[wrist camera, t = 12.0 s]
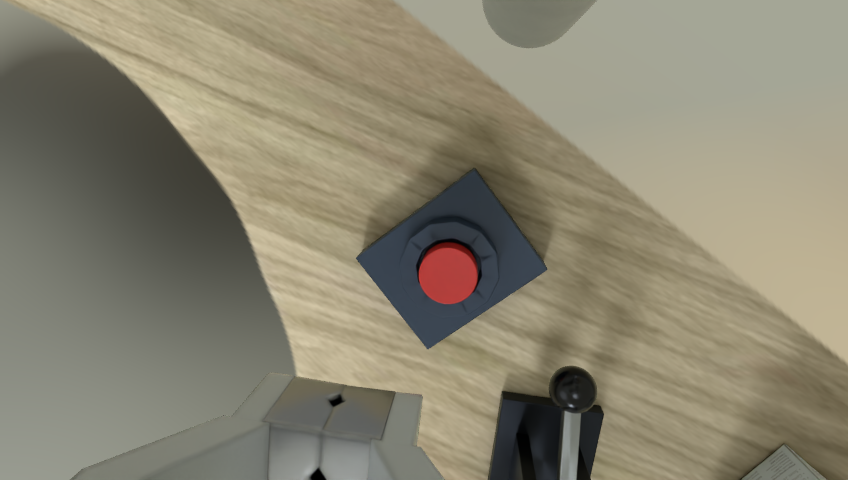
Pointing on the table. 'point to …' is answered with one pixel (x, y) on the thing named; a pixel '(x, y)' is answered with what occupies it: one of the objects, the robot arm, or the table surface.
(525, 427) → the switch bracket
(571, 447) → the switch lever
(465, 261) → the button
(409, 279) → the button block
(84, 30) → the table surface
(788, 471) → the light bulb box
